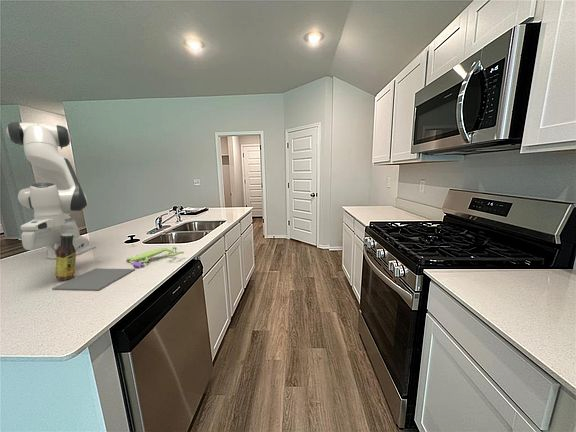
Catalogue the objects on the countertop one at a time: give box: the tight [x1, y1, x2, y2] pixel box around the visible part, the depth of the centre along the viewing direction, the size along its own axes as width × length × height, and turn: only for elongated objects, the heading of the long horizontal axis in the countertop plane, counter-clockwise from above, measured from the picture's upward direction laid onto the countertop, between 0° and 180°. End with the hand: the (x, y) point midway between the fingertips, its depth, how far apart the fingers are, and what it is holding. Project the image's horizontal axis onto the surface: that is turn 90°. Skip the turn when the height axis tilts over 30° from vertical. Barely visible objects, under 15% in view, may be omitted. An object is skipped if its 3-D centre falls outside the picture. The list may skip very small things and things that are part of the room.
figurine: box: [125, 246, 185, 269], centre depth 126 cm, size 18×27×6 cm
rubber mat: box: [51, 267, 136, 292], centre depth 104 cm, size 20×20×1 cm
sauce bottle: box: [55, 233, 77, 281], centre depth 103 cm, size 7×6×20 cm
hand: (57, 253), depth 103 cm, fingers closed, pressing on sauce bottle
